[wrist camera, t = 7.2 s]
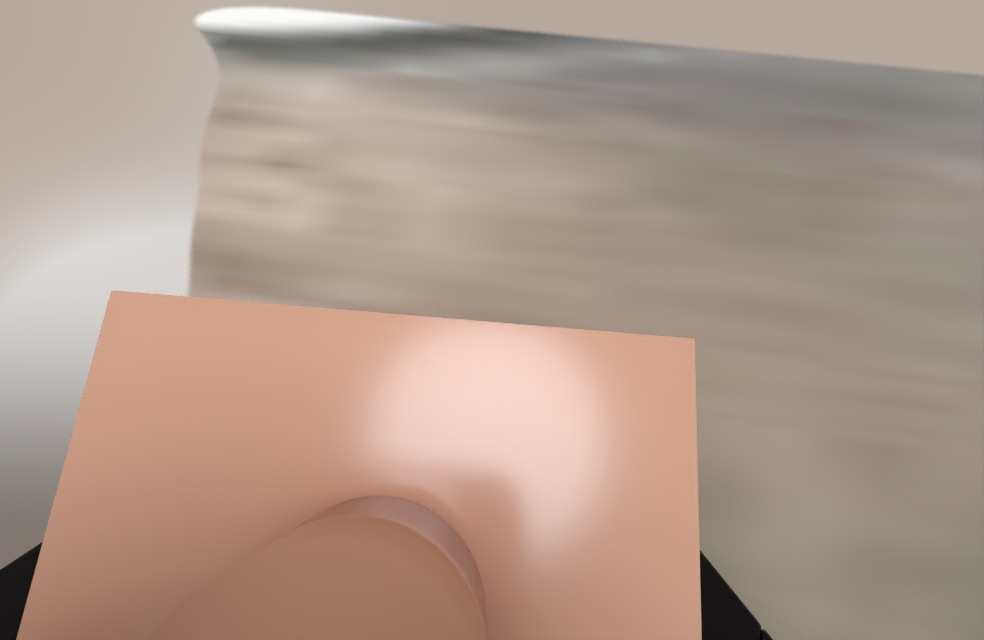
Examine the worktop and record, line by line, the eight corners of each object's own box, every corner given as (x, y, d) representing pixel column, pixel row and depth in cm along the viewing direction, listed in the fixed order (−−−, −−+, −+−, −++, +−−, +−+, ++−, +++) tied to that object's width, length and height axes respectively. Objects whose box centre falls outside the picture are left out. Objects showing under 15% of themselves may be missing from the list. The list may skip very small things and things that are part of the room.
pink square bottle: (539, 591, 14) (938, 1647, 2) (322, 576, 14) (-669, 1631, 2) (548, 390, 16) (819, 294, 3) (351, 374, 16) (-106, 214, 3)
